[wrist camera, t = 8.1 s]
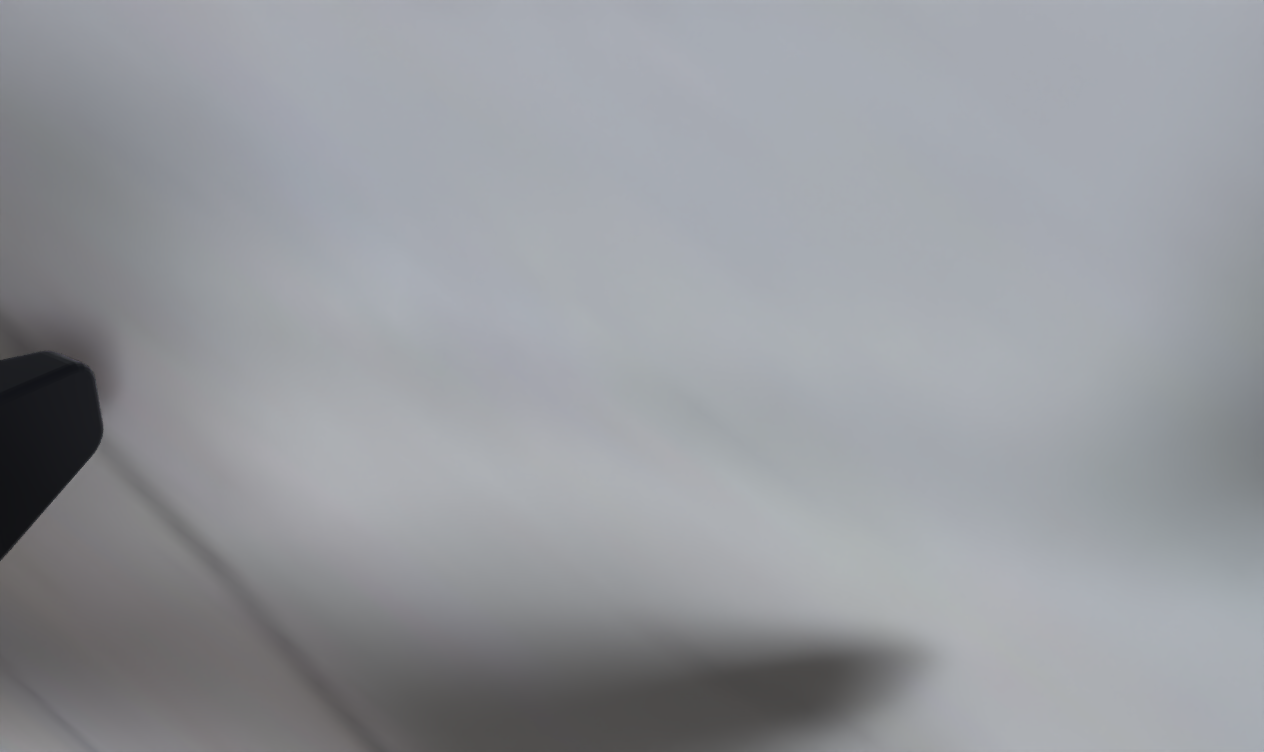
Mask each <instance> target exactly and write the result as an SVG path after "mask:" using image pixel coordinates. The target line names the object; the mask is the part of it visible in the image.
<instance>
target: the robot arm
mask: <svg viewBox="0 0 1264 752" xmlns="http://www.w3.org/2000/svg"><path fill="white" fill-rule="evenodd" d="M102 437H103V421H102V415H101V409H100V403H99V397H98V392H97V386H96V380H95V376H94V373H93V371H92V370H91V369H90V367H89V366H87V365H86V364H84V363H82V362H80V361H77V360H75V359H73V358H70V357H68V356H65V355H63V354H61V353H58V352H53V351H42V352H36V353H32V354H27V355H22V356H18V357H13V358H9V359H4V360H0V561H1V560H2V559H3V557H4V556H5V555H6V554H7V553H8V552H9V551H10V550H11V549H12V547H13V546H14V545H15V544H16V543H17V542H18V540H19V539H20V538H21V537H22V536H23V535H24V534H25V532H26V531H27V530H28V529H29V528H30V527H31V526H32V524H33V523H34V522H35V521H36V520H37V519H38V517H39V516H40V515H41V514H42V513H43V512H44V511H45V509H46V508H47V507H48V506H49V505H50V504H51V503H52V501H53V500H54V499H55V498H56V497H57V496H58V494H59V493H60V492H61V491H62V490H63V489H64V488H65V486H66V485H67V484H68V483H69V482H70V481H71V479H72V478H73V477H74V476H75V475H76V474H77V473H78V471H79V470H80V469H81V468H82V467H83V466H84V465H85V463H86V462H87V461H88V460H89V459H90V458H91V456H92V455H93V454H94V453H95V451H96V450H97V448H98V446H99V444H100V442H101V439H102Z"/></svg>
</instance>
